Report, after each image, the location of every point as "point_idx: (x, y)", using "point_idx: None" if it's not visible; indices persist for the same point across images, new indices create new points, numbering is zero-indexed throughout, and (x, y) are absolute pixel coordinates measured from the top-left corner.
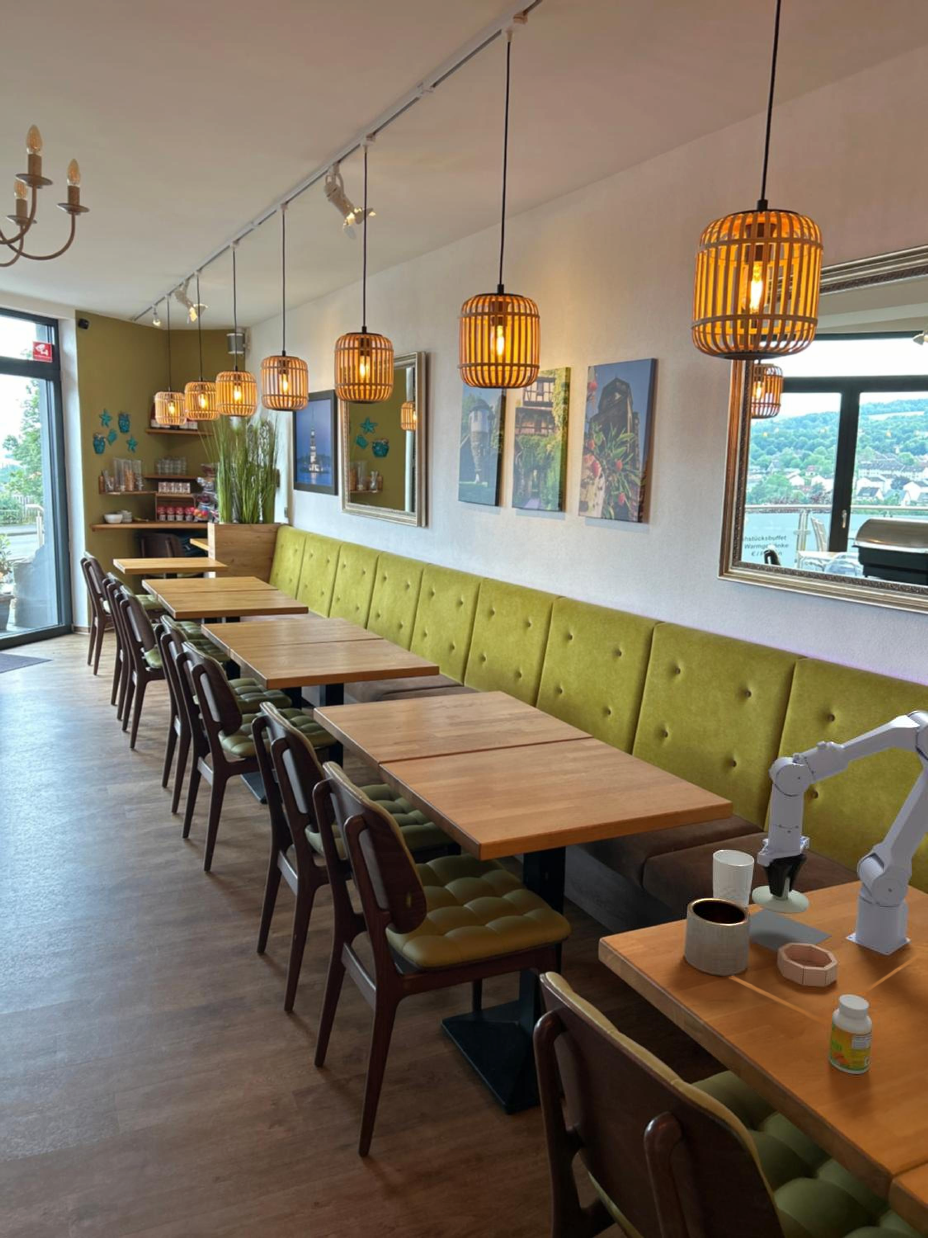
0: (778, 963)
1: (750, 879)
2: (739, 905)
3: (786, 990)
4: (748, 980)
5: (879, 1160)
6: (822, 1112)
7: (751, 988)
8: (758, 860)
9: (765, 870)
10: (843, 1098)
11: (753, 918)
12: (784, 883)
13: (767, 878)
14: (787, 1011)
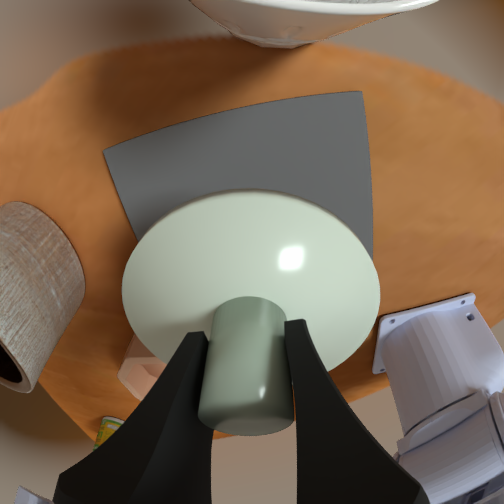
0: (131, 341)
1: (337, 32)
2: (11, 358)
3: (118, 361)
4: (71, 322)
5: (92, 439)
6: (75, 421)
7: (68, 335)
8: (20, 501)
9: (112, 442)
10: (94, 426)
11: (251, 126)
12: (209, 433)
13: (145, 398)
14: (97, 378)
